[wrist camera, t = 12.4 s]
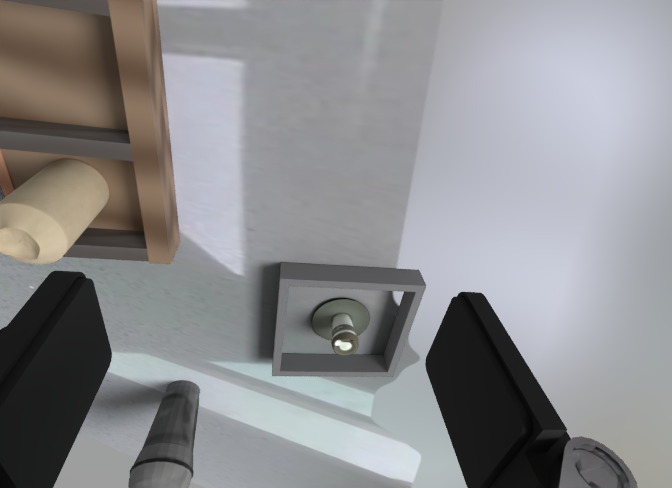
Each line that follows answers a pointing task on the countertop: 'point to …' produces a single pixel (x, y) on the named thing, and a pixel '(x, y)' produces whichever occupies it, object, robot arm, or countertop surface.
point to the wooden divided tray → (92, 115)
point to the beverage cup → (169, 441)
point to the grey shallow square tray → (347, 279)
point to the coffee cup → (341, 324)
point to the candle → (51, 211)
